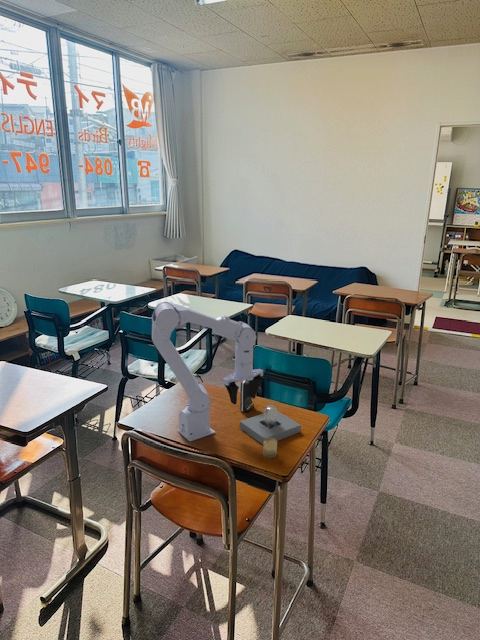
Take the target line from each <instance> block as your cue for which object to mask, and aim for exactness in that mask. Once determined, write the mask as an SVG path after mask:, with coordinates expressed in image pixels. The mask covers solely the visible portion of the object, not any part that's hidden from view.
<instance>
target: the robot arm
mask: <svg viewBox="0 0 480 640" xmlns="http://www.w3.org/2000/svg"><path fill="white" fill-rule="evenodd" d="M151 323H152V324H151V341H152V344H153V345H154V346H155V348H156V349H157V350H158V353H159V354H160V355H161V357H162V358H163V360H164V361H165V362H166V364H167V366H168V367H169V369H170V370H171V372H172V373H173V375H174V376H175V378H176V379H177V380H178V381H179V383H180V385H181V386H182V388H183V390H184V391H185V393H186V396H187V398H188V402H187V403H186V406H185V408H184V409H181V410H180V411H179V413H178V430H177V432H179V434H181V435H182V436H183V437H184V438H185V439H186V440H187V441H188V442H193V441H196V440H198V439H201V438H205V437H207V436H211V435H214V434H215V433H216V431H215V430H214V429H212V427H210V426H211V425H210V424H211V420H210V418H211V417H210V415H211V414H210V405H211V402H212V400H211V397H210V395H209V394H208V392H207V390H206V387H205V385H204V383H203V382H201V381H198V379H197V378H196V377H195V376H194V375H193V372H192V371H191V370H190V368H189V367H188V365H187V363H186V362H185V361H184V359H183V357H182V356H181V355H180V353H179V351H178V350H177V348H176V347H175V346H174V343H173V342H172V341H171V335H172V332H174V330H175V329H176V328H177V326H178V325H179V326H183V325H185V324H187V323H191V324H194V325H197V326H202V327H204V328H209V329H212V332H213V334H214V335H218V336H220V337H224V338H227V339H229V340H233V341H234V340H235V346H234V347H235V348H234V355H235V356H234V372H233V373H231V374H229V375H228V376H226V377H223V378H222V379H223V382H222V383H223V385H224V387H225V389H226V390H227V393H228V396H229V399H230V403H231V404H232V405H236V404H237V401H238V393H239V388H240V386H239V385H237V383H238V382H242V381H243V380H248V381H249V387H250V389H249V394H250V397H251V399H252V400H253V399H256V395H257V393H258V390H259V388H260V385H261V384H262V383H263V376H264V369H261V368H257V369H253V368H254V367H253V366H254V343H255V342H256V340H257V335H256V332H255V330H254V329H253V328H252V327H251V326H250V325H249V324H247V323H245V321H240V320H239V321H236V320H233V319H230V317H229V316H228V315H224V316H216V317H215V318H214V317H213V316H209V315H208V314H204V313H202V312H199V311H197V310H194V309H192V308H188V307H187V306H184V305H180V304H177V303H170V302H169V301H162V302H160V303H158V304H156V306H155V308H154V310H153V312H152V315H151Z"/></svg>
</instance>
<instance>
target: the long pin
mask: <svg viewBox="0 0 480 640" xmlns="http://www.w3.org/2000/svg"><path fill="white" fill-rule="evenodd" d="M277 411H278V407H277V406H276V405H274V404H273V405H272V404H268V405H265V406H264V412H263V413H264V426H265V427H267V428H268V429H270V428H273V427H276V422H277Z"/></svg>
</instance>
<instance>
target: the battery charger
mask: <svg viewBox="0 0 480 640" xmlns="http://www.w3.org/2000/svg"><path fill="white" fill-rule="evenodd" d="M240 382H241V383H240V390H239V391H240V393H239V394H240V395H239V397H240V399H239V401H240V402H239V405H240V408H239V410H240V412H242V413H243V412H245V413H249V412H250V411H251V410H252V408H253V407H254V405H255V404H254V402H253V398H251V397H250V394H249V389H250V387H249V381H248V380H242V381H240Z"/></svg>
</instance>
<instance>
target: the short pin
mask: <svg viewBox="0 0 480 640" xmlns="http://www.w3.org/2000/svg"><path fill="white" fill-rule="evenodd" d="M262 446H263V447H262V449H263V450H262V455H263V457H264V458H266V457H267V458H266V459H274V458H276V457H277V456H278V455H277V454H278V441H277V440H276V439H275V438H271V437H268V438H265V439H264V445H263V444H262ZM276 455H277V456H276ZM273 457H274V458H273Z"/></svg>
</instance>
